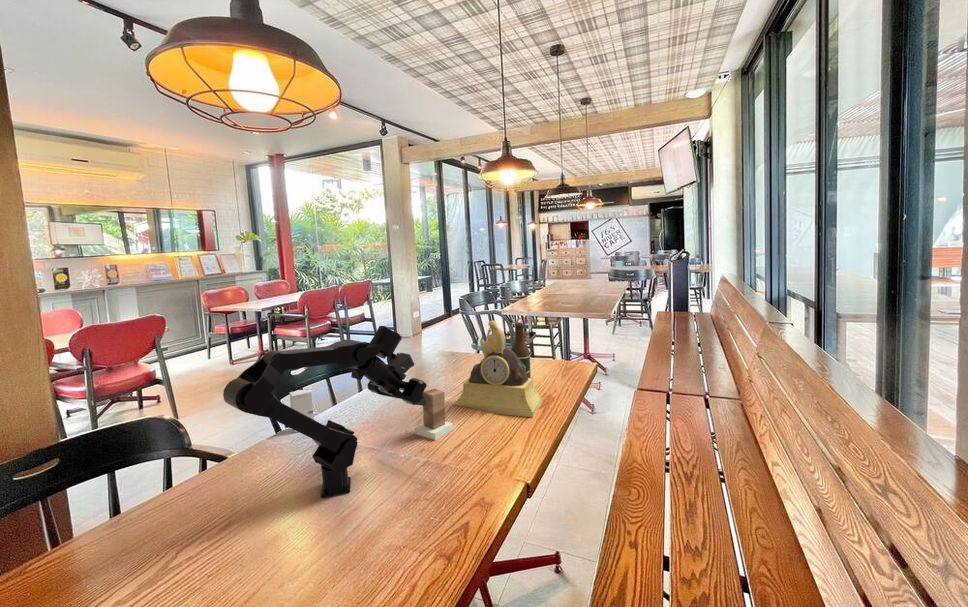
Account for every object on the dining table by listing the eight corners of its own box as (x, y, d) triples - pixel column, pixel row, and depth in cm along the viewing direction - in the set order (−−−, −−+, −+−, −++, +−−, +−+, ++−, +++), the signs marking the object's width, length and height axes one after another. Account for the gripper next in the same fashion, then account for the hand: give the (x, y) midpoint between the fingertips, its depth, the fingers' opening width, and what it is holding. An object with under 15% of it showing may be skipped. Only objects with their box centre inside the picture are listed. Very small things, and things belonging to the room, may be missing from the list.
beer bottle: (509, 384, 170) (507, 325, 167) (513, 378, 177) (512, 321, 174) (528, 385, 168) (527, 325, 164) (532, 379, 175) (530, 321, 172)
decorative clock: (453, 409, 147) (448, 323, 143) (467, 396, 159) (463, 317, 155) (533, 417, 137) (530, 326, 133) (541, 403, 149) (539, 318, 145)
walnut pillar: (445, 424, 126) (444, 391, 125) (433, 429, 123) (432, 395, 122) (435, 420, 129) (434, 388, 128) (423, 425, 126) (422, 392, 125)
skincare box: (295, 433, 133) (290, 396, 131) (292, 428, 136) (288, 392, 135) (315, 428, 136) (311, 391, 134) (312, 423, 140) (308, 387, 138)
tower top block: (453, 429, 127) (453, 423, 127) (435, 440, 121) (435, 433, 121) (433, 424, 132) (433, 417, 132) (415, 434, 126) (414, 427, 125)
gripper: (418, 350, 107) (451, 381, 117) (373, 342, 118) (406, 370, 128) (396, 389, 102) (432, 418, 112) (350, 376, 113) (387, 403, 123)
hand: (414, 400), depth 119 cm, fingers open, 9 cm apart
